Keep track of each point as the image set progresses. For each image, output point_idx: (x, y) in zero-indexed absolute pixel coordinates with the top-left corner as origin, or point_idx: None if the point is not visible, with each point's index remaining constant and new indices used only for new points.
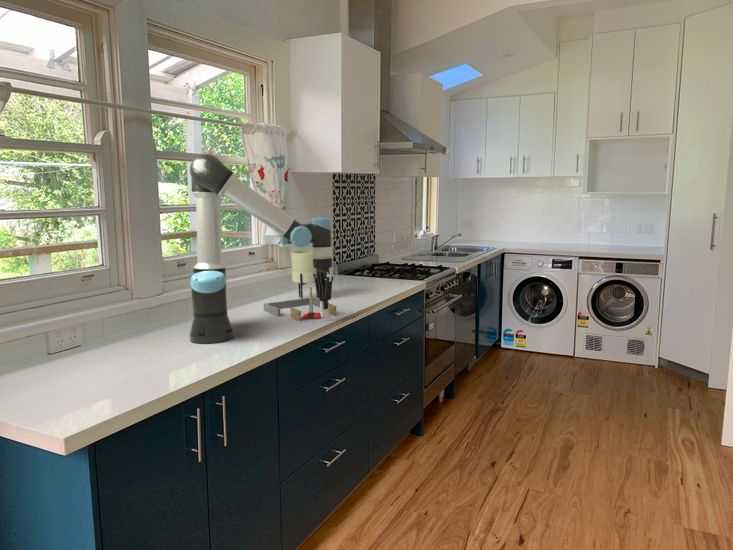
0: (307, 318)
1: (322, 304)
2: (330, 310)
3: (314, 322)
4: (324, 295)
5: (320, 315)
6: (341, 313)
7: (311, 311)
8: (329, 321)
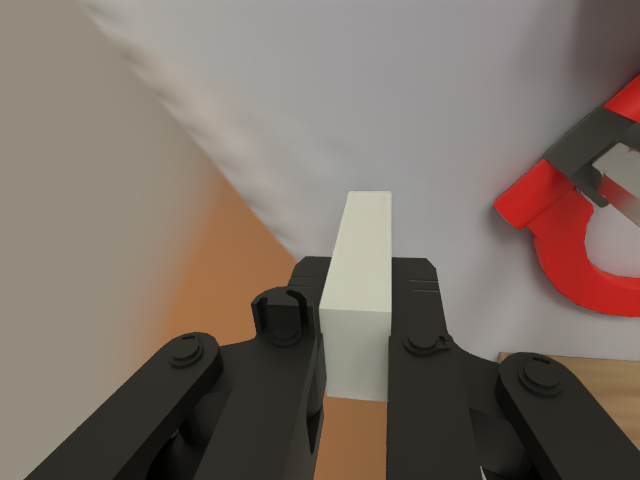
0: (616, 97)
1: (329, 282)
2: (593, 386)
3: (372, 88)
4: (157, 415)
5: (541, 249)
6: None
7: (602, 166)
8: (323, 228)
